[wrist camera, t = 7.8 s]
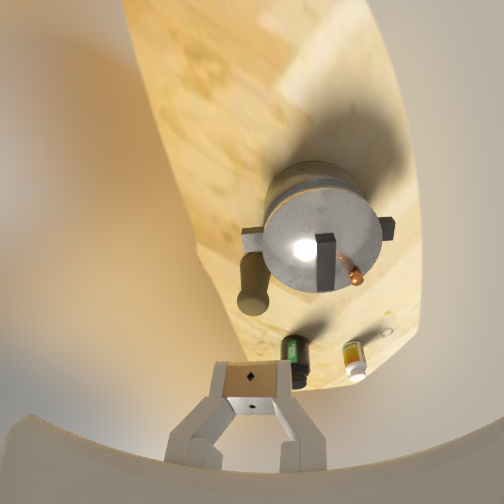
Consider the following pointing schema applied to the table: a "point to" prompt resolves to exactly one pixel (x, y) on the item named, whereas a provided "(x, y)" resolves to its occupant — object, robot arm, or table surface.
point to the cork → (253, 285)
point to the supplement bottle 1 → (297, 359)
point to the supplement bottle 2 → (354, 360)
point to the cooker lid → (321, 239)
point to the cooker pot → (298, 180)
